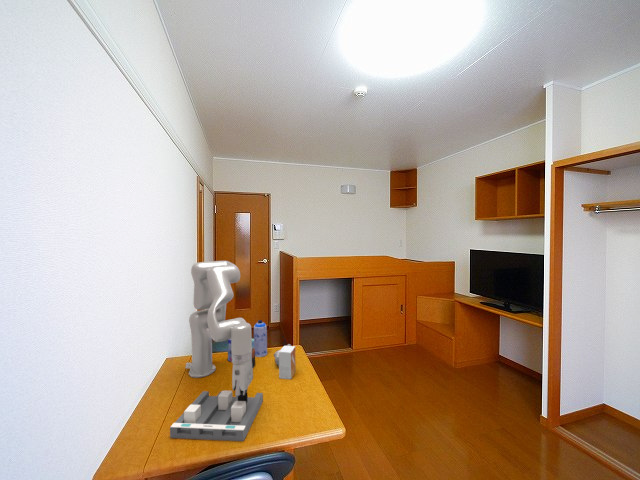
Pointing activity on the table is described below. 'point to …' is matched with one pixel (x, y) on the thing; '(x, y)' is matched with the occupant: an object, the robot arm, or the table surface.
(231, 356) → the ink cartridge box
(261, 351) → the aerosol can
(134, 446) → the table surface
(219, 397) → the switch tab middle
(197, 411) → the switch tab left
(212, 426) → the switch panel
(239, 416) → the switch tab right
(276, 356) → the voltmeter
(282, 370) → the small box
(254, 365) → the battery
